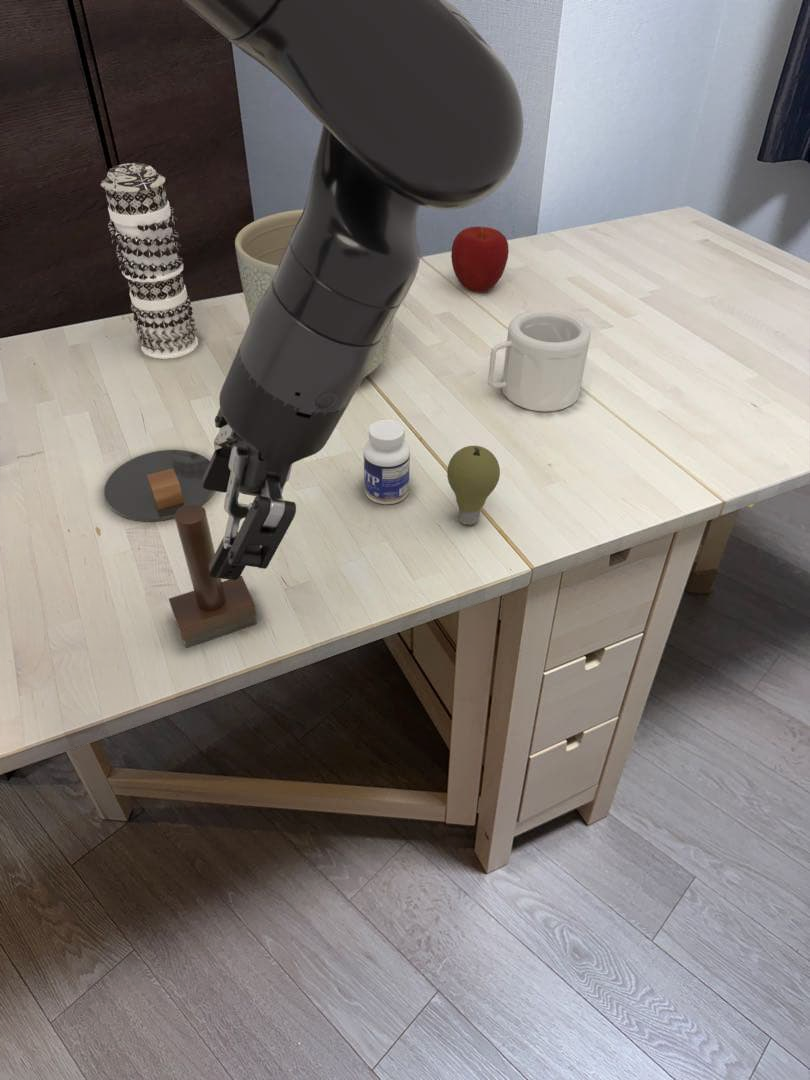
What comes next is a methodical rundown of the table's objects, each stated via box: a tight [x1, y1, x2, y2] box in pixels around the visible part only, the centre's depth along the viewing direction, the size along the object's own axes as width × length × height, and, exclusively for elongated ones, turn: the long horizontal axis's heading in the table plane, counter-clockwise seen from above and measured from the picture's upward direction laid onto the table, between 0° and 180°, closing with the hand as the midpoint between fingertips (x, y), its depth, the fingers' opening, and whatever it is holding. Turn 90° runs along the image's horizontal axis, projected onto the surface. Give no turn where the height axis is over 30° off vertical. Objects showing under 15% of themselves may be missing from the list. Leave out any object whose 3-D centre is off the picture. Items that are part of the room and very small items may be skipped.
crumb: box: [147, 468, 184, 510], centre depth 84 cm, size 3×3×3 cm
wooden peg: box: [168, 504, 258, 648], centre depth 68 cm, size 4×7×14 cm, turn 116°
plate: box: [103, 449, 216, 523], centre depth 88 cm, size 13×13×1 cm
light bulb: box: [446, 445, 501, 526], centre depth 80 cm, size 6×6×10 cm
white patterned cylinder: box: [100, 162, 199, 360], centre depth 104 cm, size 9×9×25 cm
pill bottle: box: [363, 418, 411, 505], centre depth 85 cm, size 5×5×9 cm
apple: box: [450, 226, 510, 293], centre depth 125 cm, size 10×10×10 cm
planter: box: [234, 208, 394, 378], centre depth 102 cm, size 21×21×19 cm
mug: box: [487, 309, 592, 412], centre depth 100 cm, size 14×11×10 cm
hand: (218, 529), depth 56 cm, fingers open, 8 cm apart
